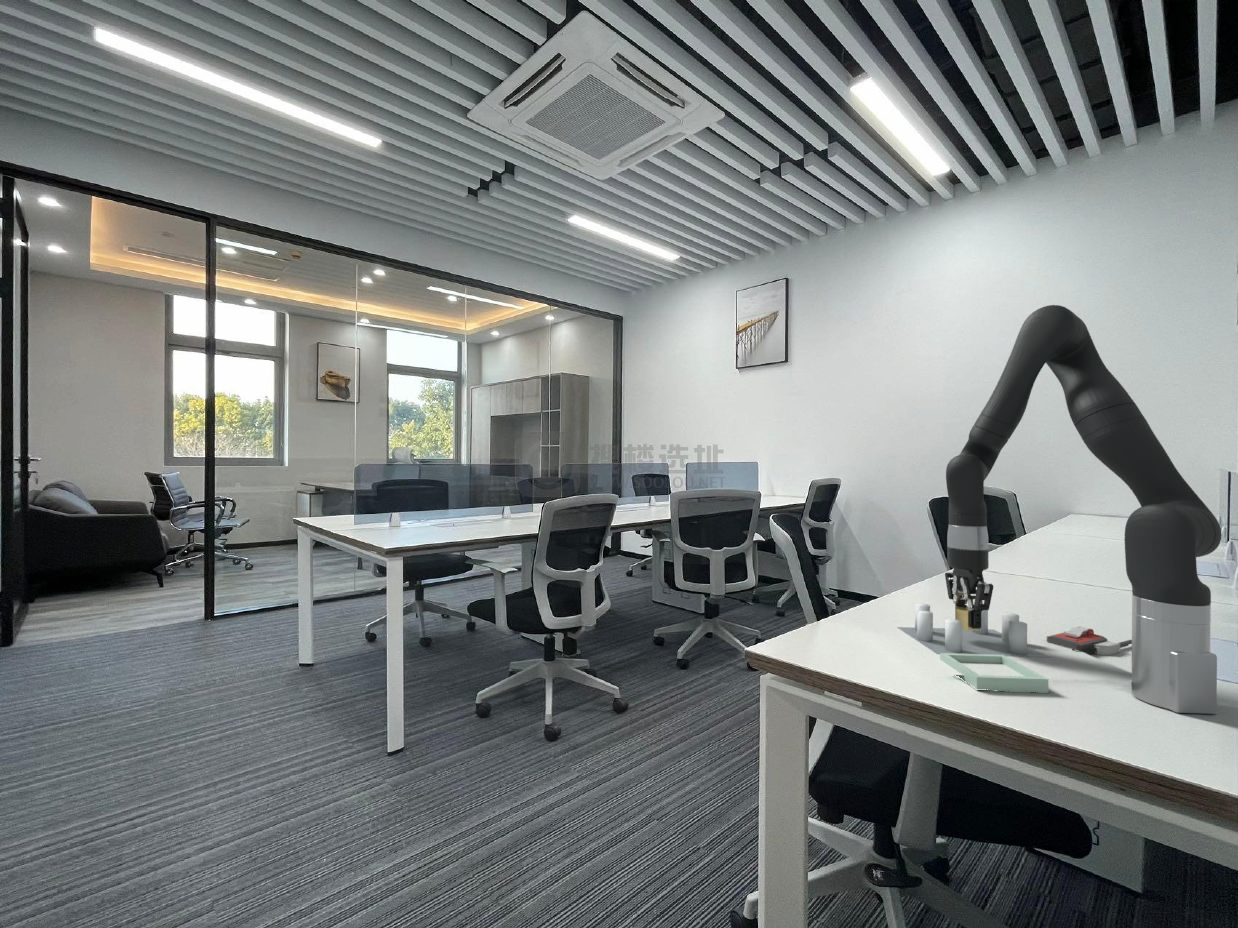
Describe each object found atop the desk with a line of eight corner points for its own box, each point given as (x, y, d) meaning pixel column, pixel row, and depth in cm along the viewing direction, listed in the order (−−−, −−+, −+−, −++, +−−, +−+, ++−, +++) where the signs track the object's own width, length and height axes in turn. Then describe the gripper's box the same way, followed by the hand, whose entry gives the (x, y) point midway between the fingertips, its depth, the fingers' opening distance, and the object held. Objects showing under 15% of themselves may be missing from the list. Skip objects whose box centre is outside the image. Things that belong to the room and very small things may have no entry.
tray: (1048, 693, 93) (1048, 679, 93) (976, 690, 94) (976, 677, 94) (1003, 667, 105) (1003, 654, 105) (940, 665, 106) (940, 653, 106)
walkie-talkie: (1089, 663, 109) (1138, 649, 118) (1090, 641, 109) (1138, 629, 117) (1040, 649, 117) (1089, 637, 125) (1040, 629, 117) (1089, 618, 125)
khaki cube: (986, 630, 114) (986, 611, 114) (962, 630, 115) (961, 611, 115) (973, 624, 119) (973, 606, 119) (950, 624, 119) (950, 606, 119)
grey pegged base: (1050, 663, 108) (1050, 627, 108) (937, 659, 109) (937, 624, 109) (993, 634, 126) (993, 603, 126) (896, 632, 127) (897, 601, 127)
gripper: (1007, 551, 110) (1007, 635, 109) (965, 541, 124) (966, 616, 124) (969, 550, 110) (970, 634, 110) (932, 541, 124) (932, 615, 124)
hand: (967, 624), depth 117 cm, fingers closed on khaki cube, 4 cm apart
